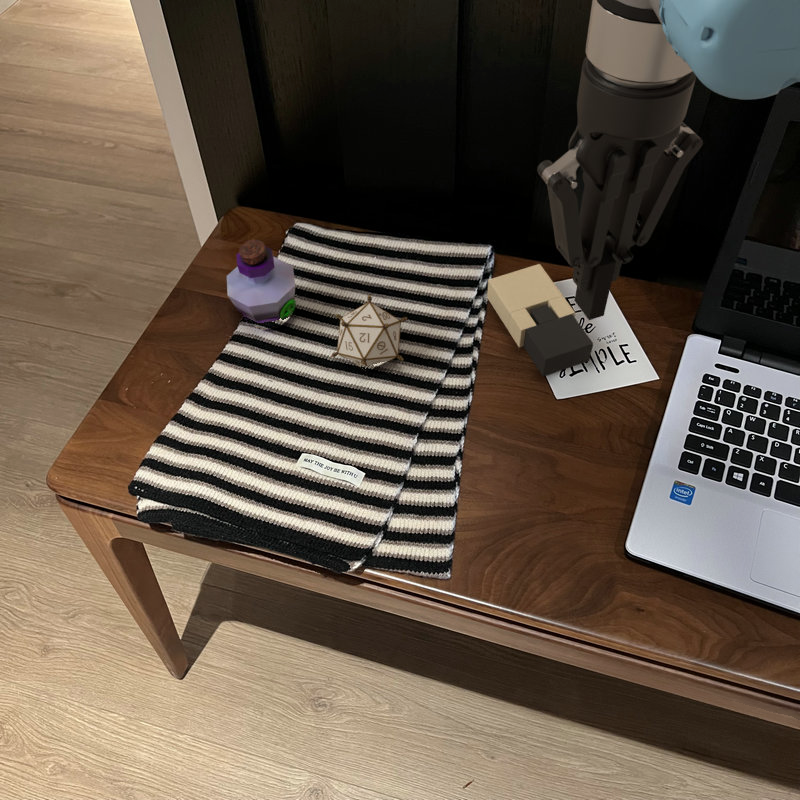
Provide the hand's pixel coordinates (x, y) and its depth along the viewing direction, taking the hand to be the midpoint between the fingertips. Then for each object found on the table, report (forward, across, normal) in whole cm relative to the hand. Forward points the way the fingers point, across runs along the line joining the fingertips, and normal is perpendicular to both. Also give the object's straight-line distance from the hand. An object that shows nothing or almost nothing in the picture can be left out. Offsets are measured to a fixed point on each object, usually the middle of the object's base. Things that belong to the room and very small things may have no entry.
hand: (588, 307), depth 71 cm
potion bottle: (+19, +26, -29) cm, 43 cm away
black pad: (+19, -4, -11) cm, 22 cm away
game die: (+19, +16, -18) cm, 31 cm away
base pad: (+19, -4, -16) cm, 25 cm away
